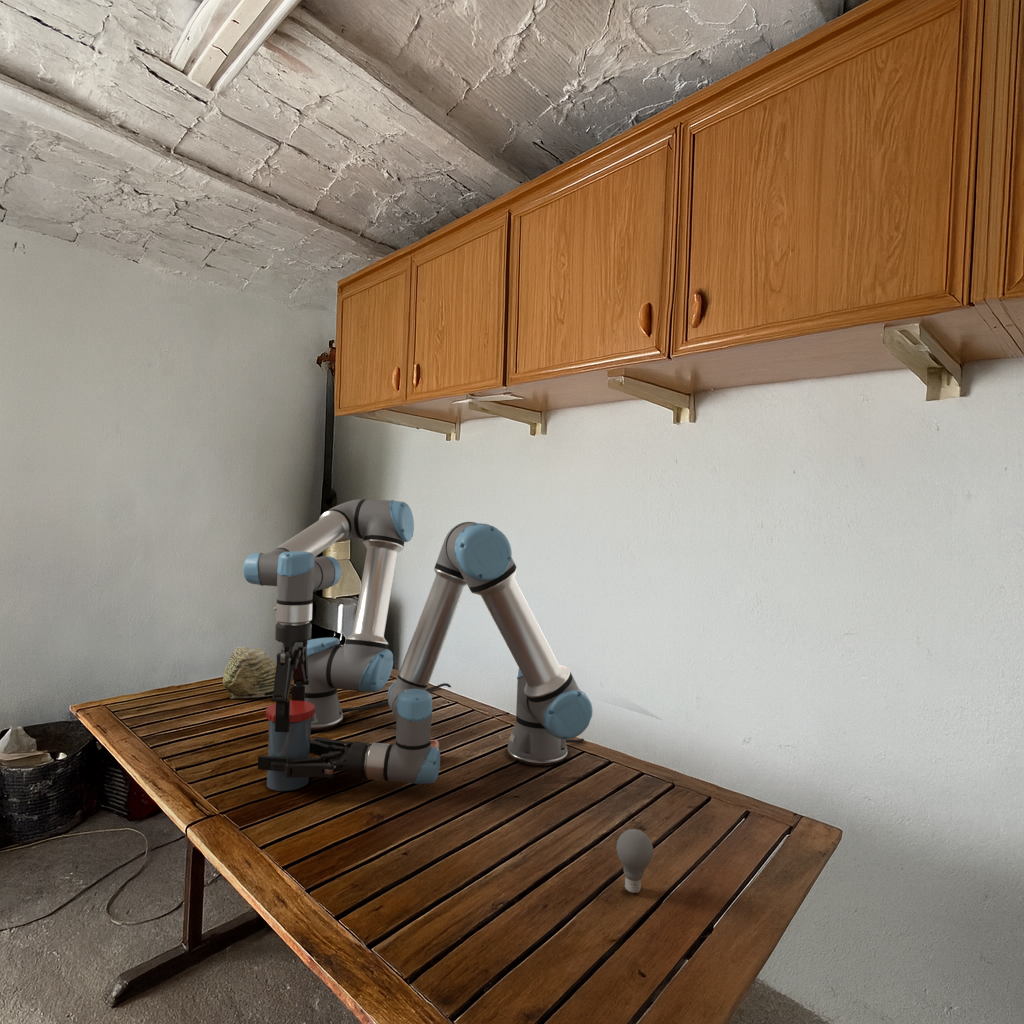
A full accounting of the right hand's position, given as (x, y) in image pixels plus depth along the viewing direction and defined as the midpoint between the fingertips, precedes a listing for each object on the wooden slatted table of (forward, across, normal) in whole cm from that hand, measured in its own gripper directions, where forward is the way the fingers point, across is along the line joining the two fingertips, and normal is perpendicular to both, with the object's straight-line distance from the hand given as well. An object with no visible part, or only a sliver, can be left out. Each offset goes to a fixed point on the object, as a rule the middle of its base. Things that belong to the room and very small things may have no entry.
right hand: (268, 753), depth 140 cm
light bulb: (-77, -29, -6) cm, 82 cm away
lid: (-5, 0, +10) cm, 11 cm away
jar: (-5, 0, -6) cm, 8 cm away
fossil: (+31, +56, -6) cm, 64 cm away
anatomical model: (-28, +15, -6) cm, 33 cm away
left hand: (-5, 0, +7) cm, 9 cm away
